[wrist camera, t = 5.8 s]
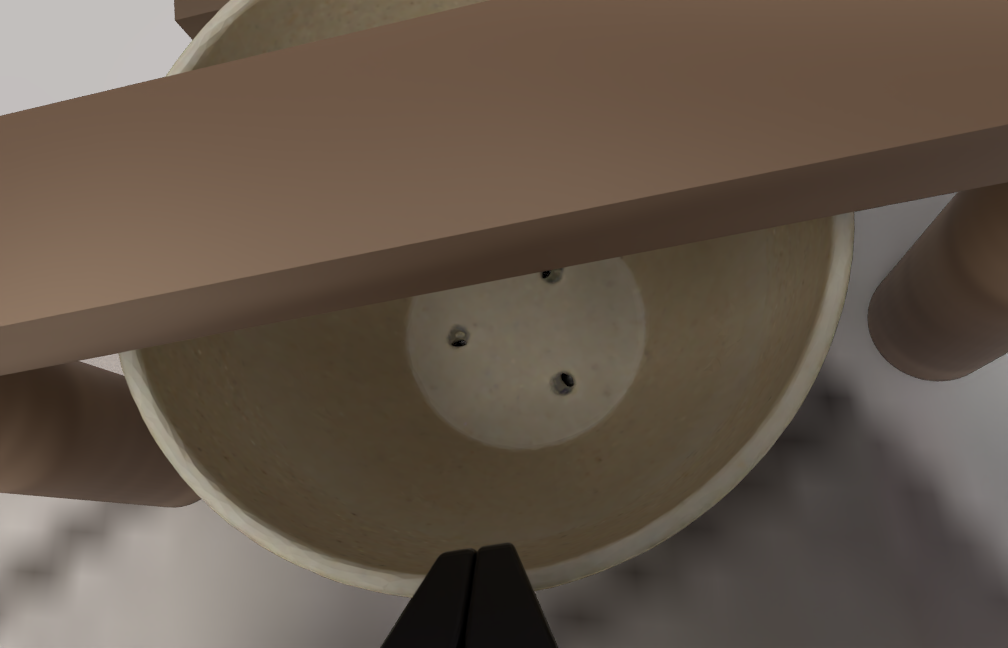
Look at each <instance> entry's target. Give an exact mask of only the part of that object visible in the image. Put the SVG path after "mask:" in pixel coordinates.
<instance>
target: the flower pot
mask: <svg viewBox="0 0 1008 648" xmlns="http://www.w3.org/2000/svg"><path fill="white" fill-rule="evenodd" d="M484 1H488V0H230V1H229V2H228V3H227V4H226V5H224V6H223V7H222V8H221V9H220V10H219V11H218V12H217V13H216V15H215V16H214V17H213V18H212V19H211V20H210V21H209V22H208V23H207V24H206V25H205V26H204V27H203V28H202V30H201V31H200V32H199V33H198V34H197V36H196V37H195V38H194V39H193V40H192V42H191V43H190V44H189V45H188V47H187V48H186V49H185V50H184V52H183V53H182V54H181V56H180V57H179V58H178V60H177V61H176V62H175V64H174V65H173V67H172V68H171V69H170V71H169V72H168V74H167V75H166V77H167V76H171V75H175V74H180V73H184V72H188V71H192V70H197V69H201V68H205V67H209V66H213V65H218V64H222V63H226V62H230V61H235V60H239V59H243V58H247V57H252V56H256V55H260V54H264V53H268V52H273V51H277V50H281V49H285V48H290V47H294V46H298V45H302V44H306V43H311V42H315V41H319V40H323V39H328V38H332V37H336V36H340V35H345V34H349V33H353V32H357V31H361V30H366V29H370V28H374V27H378V26H383V25H387V24H391V23H395V22H400V21H404V20H408V19H412V18H416V17H421V16H425V15H429V14H433V13H438V12H442V11H446V10H450V9H454V8H459V7H463V6H467V5H471V4H476V3H480V2H484ZM854 229H855V227H854V212H850V213H845V214H840V215H834V216H829V217H824V218H819V219H814V220H808V221H803V222H798V223H793V224H788V225H782V226H777V227H772V228H767V229H762V230H756V231H751V232H746V233H741V234H736V235H730V236H725V237H720V238H715V239H710V240H704V241H699V242H694V243H689V244H684V245H678V246H673V247H668V248H663V249H657V250H652V251H647V252H642V253H637V254H631V255H626V256H621V257H616V258H611V259H605V260H600V261H595V262H590V263H585V264H579V265H574V266H569V267H564V268H559V269H553V270H551V273H550V275H549V276H548V277H546V278H543V272H538V273H533V274H527V275H522V276H517V277H512V278H506V279H501V280H496V281H491V282H486V283H480V284H475V285H470V286H465V287H460V288H454V289H449V290H444V291H439V292H434V293H428V294H423V295H418V296H413V297H408V298H402V299H397V300H392V301H387V302H382V303H376V304H371V305H366V306H361V307H355V308H350V309H345V310H340V311H335V312H329V313H324V314H319V315H314V316H309V317H303V318H298V319H293V320H288V321H283V322H277V323H272V324H267V325H262V326H257V327H251V328H246V329H241V330H236V331H231V332H225V333H220V334H215V335H210V336H205V337H199V338H194V339H189V340H184V341H178V342H173V343H168V344H163V345H158V346H152V347H147V348H142V349H137V350H132V351H126V352H121V353H118V354H119V358H120V362H121V367H122V371H123V373H124V376H125V379H126V381H127V384H128V387H129V389H130V392H131V395H132V397H133V399H134V401H135V403H136V405H137V407H138V409H139V411H140V414H141V416H142V418H143V420H144V422H145V424H146V425H147V427H148V429H149V431H150V433H151V435H152V436H153V438H154V440H155V441H156V443H157V444H158V446H159V447H160V449H161V450H162V452H163V453H164V455H165V456H166V457H167V459H168V460H169V461H170V463H171V464H172V465H173V467H174V468H175V469H176V471H177V472H178V473H179V475H180V476H181V477H182V478H183V480H184V481H185V482H186V483H187V484H188V485H189V486H190V487H191V488H192V489H193V491H194V492H195V493H196V494H197V495H198V496H199V497H200V498H201V499H203V500H204V501H205V502H206V504H207V505H208V506H209V507H210V508H211V509H213V510H214V511H215V512H216V513H217V514H219V515H220V516H221V517H222V518H223V519H224V520H225V521H226V522H227V523H229V524H230V525H231V526H233V527H234V528H236V529H237V530H239V531H240V532H242V533H243V534H245V535H246V536H247V537H248V538H250V539H251V540H253V541H254V542H256V543H257V544H259V545H260V546H262V547H263V548H265V549H267V550H269V551H270V552H272V553H274V554H276V555H278V556H279V557H281V558H283V559H285V560H287V561H289V562H291V563H293V564H295V565H298V566H300V567H302V568H305V569H308V570H310V571H312V572H314V573H316V574H318V575H321V576H323V577H325V578H328V579H331V580H334V581H336V582H339V583H342V584H346V585H350V586H355V587H359V588H363V589H366V590H370V591H374V592H379V593H384V594H389V595H395V596H402V597H410V598H412V597H413V595H414V594H415V592H416V591H417V589H418V587H419V586H420V584H421V583H422V581H423V580H424V578H425V576H426V575H427V573H428V572H429V570H430V569H431V567H432V565H433V564H434V562H435V561H436V559H437V558H438V556H439V555H441V554H442V553H444V552H447V551H454V550H460V549H467V548H473V549H475V550H477V551H478V549H479V548H480V547H482V546H486V545H493V544H500V543H506V542H510V543H512V544H513V545H514V546H515V548H516V550H517V553H518V555H519V557H520V560H521V562H522V564H523V567H524V569H525V571H526V574H527V576H528V578H529V581H530V583H531V585H532V588H533V590H534V591H538V590H543V589H548V588H552V587H556V586H559V585H563V584H566V583H570V582H573V581H576V580H579V579H582V578H585V577H588V576H591V575H594V574H596V573H599V572H602V571H604V570H607V569H609V568H612V567H614V566H616V565H618V564H620V563H623V562H625V561H627V560H629V559H631V558H633V557H636V556H638V555H640V554H642V553H644V552H646V551H648V550H650V549H651V548H653V547H655V546H657V545H659V544H660V543H662V542H664V541H665V540H667V539H668V538H670V537H672V536H673V535H675V534H676V533H678V532H679V531H681V530H682V529H683V528H685V527H686V526H688V525H689V524H690V523H692V522H693V521H694V520H696V519H697V518H698V517H700V516H701V515H702V514H704V513H705V512H706V511H708V510H709V509H710V508H711V507H713V506H714V505H715V504H716V503H718V502H719V501H720V500H721V499H722V498H723V497H725V496H726V495H727V494H728V493H729V492H730V491H731V490H732V489H733V488H735V487H736V486H737V485H738V484H739V482H740V481H741V480H742V479H743V478H744V477H745V476H746V475H747V474H748V473H749V472H750V471H751V470H752V469H753V468H754V467H755V465H756V464H757V463H758V462H759V461H760V460H761V459H762V458H763V457H764V456H765V455H766V453H767V452H768V451H769V450H770V449H771V448H772V446H773V445H774V444H775V442H776V441H777V439H778V438H779V437H780V435H781V434H782V433H783V431H784V430H785V429H786V427H787V426H788V425H789V423H790V422H791V421H792V419H793V418H794V416H795V414H796V413H797V411H798V410H799V408H800V406H801V405H802V403H803V401H804V400H805V398H806V396H807V394H808V393H809V391H810V389H811V387H812V385H813V383H814V381H815V379H816V377H817V375H818V373H819V371H820V369H821V367H822V364H823V362H824V360H825V358H826V355H827V353H828V351H829V348H830V346H831V343H832V340H833V337H834V334H835V331H836V328H837V325H838V322H839V319H840V316H841V313H842V310H843V306H844V302H845V298H846V293H847V289H848V283H849V278H850V269H851V263H852V258H853V243H854ZM458 340H464V341H465V342H466V344H465V345H464V346H460V347H456V346H453V344H454V343H455V342H456V341H458ZM562 373H564V374H567V375H570V376H571V377H572V379H573V382H574V385H573V386H572V387H569V386H567V385H566V384H565V383H564V382H563V381H562V378H561V375H562Z"/></svg>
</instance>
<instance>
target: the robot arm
mask: <svg viewBox="0 0 1008 648" xmlns="http://www.w3.org/2000/svg"><path fill="white" fill-rule="evenodd" d="M380 648H558V646H557V643H556V641H555V639H554V636H553V634H552V632H551V629H550V627H549V625H548V622H547V620H546V618H545V615H544V613H543V611H542V608H541V606H540V604H539V601H538V599H537V597H536V594H535V592H534V590H533V588H532V585H531V583H530V581H529V578H528V576H527V574H526V571H525V569H524V567H523V564H522V562H521V560H520V557H519V555H518V553H517V550H516V548H515V546H514V545H513V544H512V543H510V542H506V543H500V544H493V545H486V546H482V547H480V548H479V549H478V551H477V550H475V549H473V548H467V549H460V550H454V551H447V552H444V553H442V554H441V555H439V556H438V558H437V559H436V561H435V562H434V564H433V565H432V567H431V569H430V570H429V572H428V573H427V575H426V576H425V578H424V580H423V581H422V583H421V584H420V586H419V587H418V589H417V591H416V592H415V594H414V595H413V597H412V598H411V600H410V602H409V603H408V605H407V606H406V608H405V609H404V611H403V613H402V614H401V616H400V617H399V619H398V620H397V622H396V624H395V625H394V627H393V628H392V630H391V631H390V633H389V635H388V636H387V638H386V639H385V641H384V643H383V644H382V646H381V647H380Z"/></svg>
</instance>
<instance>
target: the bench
mask: <svg viewBox="0 0 1008 648" xmlns="http://www.w3.org/2000/svg"><path fill="white" fill-rule="evenodd" d="M229 1H230V0H174V7H175V21H176V22H177V23H178V24H179V25H180V26H181V28H182V29H184V31H185V32H186V33H187V34H188V35H189V36H190V37H191V39H192V40H193V39H194V38H195V37H196V36H197V34H198V33H199V32H200V31H201V30H202V28H203V27H204V26H205V25H206V24H207V23H208V22H209V21H210V20H211V19H212V18H213V17H214V16H215V15H216V13H217V12H218V11H219V10H220V9H221V8H222V7H223V6H224V5H226V4H227V3H228V2H229ZM954 192H957V194H956V195H955V196H954V197H953V198H952V200H951V201H950V202H949V203H948V204H947V205H946V207H945V208H944V209H943V210H942V211H941V213H940V214H939V215H938V216H937V217H936V219H935V220H934V221H933V222H932V223H931V224H930V226H929V227H928V228H927V229H926V230H925V232H924V233H923V234H922V235H921V236H920V237H919V239H918V240H917V241H916V242H915V243H914V245H913V246H912V247H911V248H910V249H909V251H908V252H907V253H906V254H905V255H904V256H903V258H902V259H901V260H900V261H899V262H898V264H897V265H896V266H895V267H894V268H893V269H892V271H891V272H890V273H889V274H888V275H887V277H886V278H885V279H884V280H883V281H882V283H881V284H880V285H879V286H878V288H877V289H876V291H875V292H874V294H873V296H872V298H871V301H870V304H869V309H868V327H869V332H870V335H871V338H872V340H873V342H874V344H875V346H876V348H877V349H878V351H879V352H880V354H881V355H882V356H883V357H884V358H885V359H886V360H887V361H888V362H889V363H890V364H891V365H893V366H894V367H895V368H897V369H898V370H900V371H902V372H904V373H906V374H908V375H910V376H913V377H915V378H919V379H923V380H929V381H948V380H954V379H958V378H961V377H964V376H966V375H968V374H970V373H972V372H974V371H976V370H977V369H979V368H981V367H983V366H985V365H986V364H988V363H990V362H992V361H994V360H995V359H997V358H999V357H1001V356H1002V355H1004V354H1006V353H1008V0H488V1H484V2H480V3H476V4H471V5H467V6H463V7H459V8H454V9H450V10H446V11H442V12H438V13H433V14H429V15H425V16H421V17H416V18H412V19H408V20H404V21H400V22H395V23H391V24H387V25H383V26H378V27H374V28H370V29H366V30H361V31H357V32H353V33H349V34H345V35H340V36H336V37H332V38H328V39H323V40H319V41H315V42H311V43H306V44H302V45H298V46H294V47H290V48H285V49H281V50H277V51H273V52H268V53H264V54H260V55H256V56H252V57H247V58H243V59H239V60H235V61H230V62H226V63H222V64H218V65H213V66H209V67H205V68H201V69H197V70H192V71H188V72H184V73H180V74H175V75H171V76H167V77H163V78H158V79H154V80H150V81H146V82H142V83H138V84H133V85H129V86H125V87H121V88H116V89H112V90H108V91H104V92H100V93H96V94H91V95H87V96H82V97H78V98H74V99H70V100H66V101H61V102H57V103H53V104H49V105H45V106H40V107H36V108H32V109H27V110H23V111H19V112H15V113H11V114H6V115H2V116H0V493H10V494H22V495H33V496H45V497H56V498H68V499H79V500H91V501H102V502H114V503H125V504H137V505H148V506H160V507H173V508H174V507H182V506H187V505H190V504H192V503H195V502H196V501H198V500H200V499H201V498H200V497H199V496H198V495H197V494H196V493H195V492H194V491H193V489H192V488H191V487H190V486H189V485H188V484H187V483H186V482H185V481H184V480H183V478H182V477H181V476H180V475H179V473H178V472H177V471H176V469H175V468H174V467H173V465H172V464H171V463H170V461H169V460H168V459H167V457H166V456H165V455H164V453H163V452H162V450H161V449H160V447H159V446H158V444H157V443H156V441H155V440H154V438H153V436H152V435H151V433H150V431H149V429H148V427H147V425H146V424H145V422H144V420H143V418H142V416H141V414H140V411H139V409H138V407H137V405H136V403H135V401H134V399H133V397H132V395H131V392H130V389H129V387H128V384H127V381H126V379H125V376H123V375H120V374H117V373H114V372H111V371H107V370H104V369H101V368H98V367H95V366H92V365H89V364H86V363H83V362H80V360H85V359H90V358H95V357H100V356H106V355H111V354H116V353H121V352H126V351H132V350H137V349H142V348H147V347H152V346H158V345H163V344H168V343H173V342H178V341H184V340H189V339H194V338H199V337H205V336H210V335H215V334H220V333H225V332H231V331H236V330H241V329H246V328H251V327H257V326H262V325H267V324H272V323H277V322H283V321H288V320H293V319H298V318H303V317H309V316H314V315H319V314H324V313H329V312H335V311H340V310H345V309H350V308H355V307H361V306H366V305H371V304H376V303H382V302H387V301H392V300H397V299H402V298H408V297H413V296H418V295H423V294H428V293H434V292H439V291H444V290H449V289H454V288H460V287H465V286H470V285H475V284H480V283H486V282H491V281H496V280H501V279H506V278H512V277H517V276H522V275H527V274H533V273H538V272H543V271H548V270H553V269H559V268H564V267H569V266H574V265H579V264H585V263H590V262H595V261H600V260H605V259H611V258H616V257H621V256H626V255H631V254H637V253H642V252H647V251H652V250H657V249H663V248H668V247H673V246H678V245H684V244H689V243H694V242H699V241H704V240H710V239H715V238H720V237H725V236H730V235H736V234H741V233H746V232H751V231H756V230H762V229H767V228H772V227H777V226H782V225H788V224H793V223H798V222H803V221H808V220H814V219H819V218H824V217H829V216H834V215H840V214H845V213H850V212H855V211H861V210H866V209H871V208H876V207H881V206H887V205H892V204H897V203H902V202H907V201H913V200H918V199H923V198H928V197H933V196H939V195H944V194H949V193H954Z"/></svg>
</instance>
